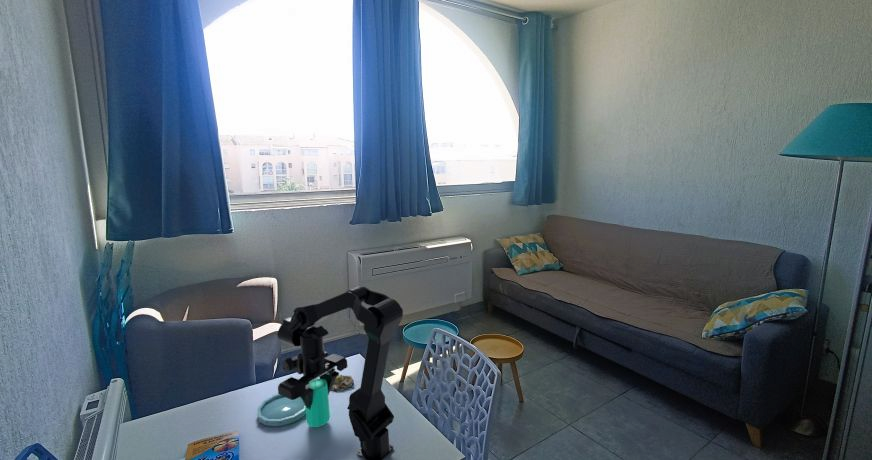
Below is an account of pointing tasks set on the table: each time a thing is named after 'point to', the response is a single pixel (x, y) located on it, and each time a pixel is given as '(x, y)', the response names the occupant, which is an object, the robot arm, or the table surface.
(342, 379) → the mineral rock
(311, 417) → the candle
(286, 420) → the dish
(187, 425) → the table surface
